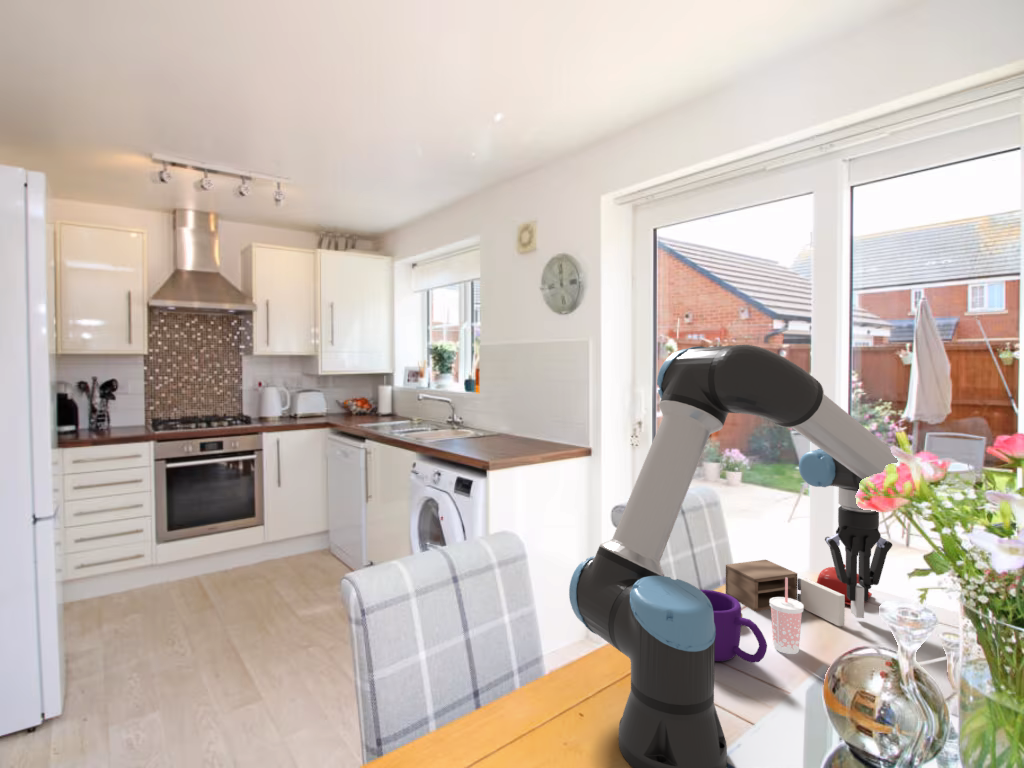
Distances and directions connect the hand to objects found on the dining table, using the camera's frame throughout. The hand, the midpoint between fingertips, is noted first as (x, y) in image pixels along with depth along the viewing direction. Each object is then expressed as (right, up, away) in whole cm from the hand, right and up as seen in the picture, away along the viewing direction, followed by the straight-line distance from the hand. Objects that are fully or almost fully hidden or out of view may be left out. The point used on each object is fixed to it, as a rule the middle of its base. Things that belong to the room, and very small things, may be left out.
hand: (857, 615), depth 120 cm
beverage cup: (-21, -2, -12) cm, 24 cm away
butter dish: (+4, -2, +13) cm, 14 cm away
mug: (-35, -2, -15) cm, 38 cm away
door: (-6, -1, +3) cm, 7 cm away
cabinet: (-16, -1, +11) cm, 20 cm away
